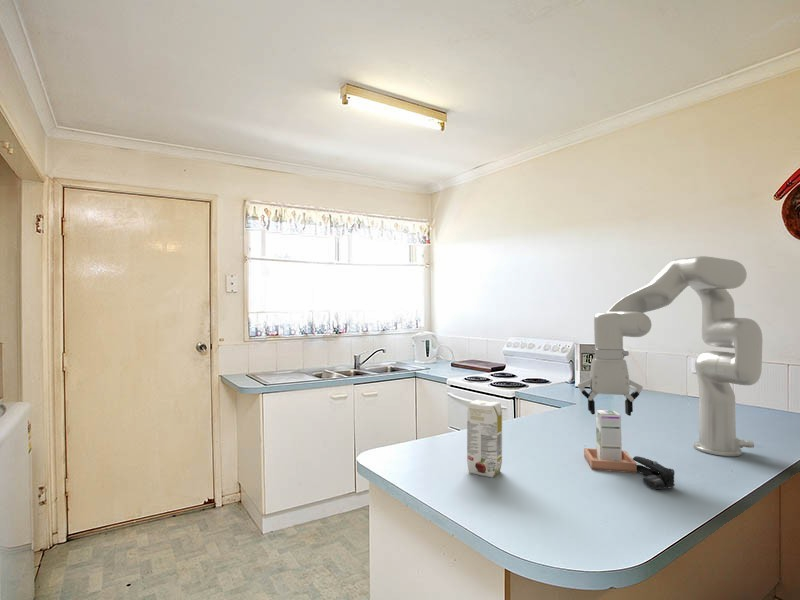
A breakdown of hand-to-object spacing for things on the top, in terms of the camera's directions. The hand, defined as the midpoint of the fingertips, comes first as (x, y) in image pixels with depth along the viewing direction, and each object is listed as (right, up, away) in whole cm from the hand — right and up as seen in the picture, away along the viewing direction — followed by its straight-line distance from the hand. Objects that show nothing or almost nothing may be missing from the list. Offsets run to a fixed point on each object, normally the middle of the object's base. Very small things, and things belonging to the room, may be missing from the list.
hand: (610, 413), depth 131 cm
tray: (-1, -14, 0) cm, 14 cm away
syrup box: (-1, -14, 0) cm, 14 cm away
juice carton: (-38, -14, -8) cm, 41 cm away
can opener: (+5, -15, -12) cm, 20 cm away
